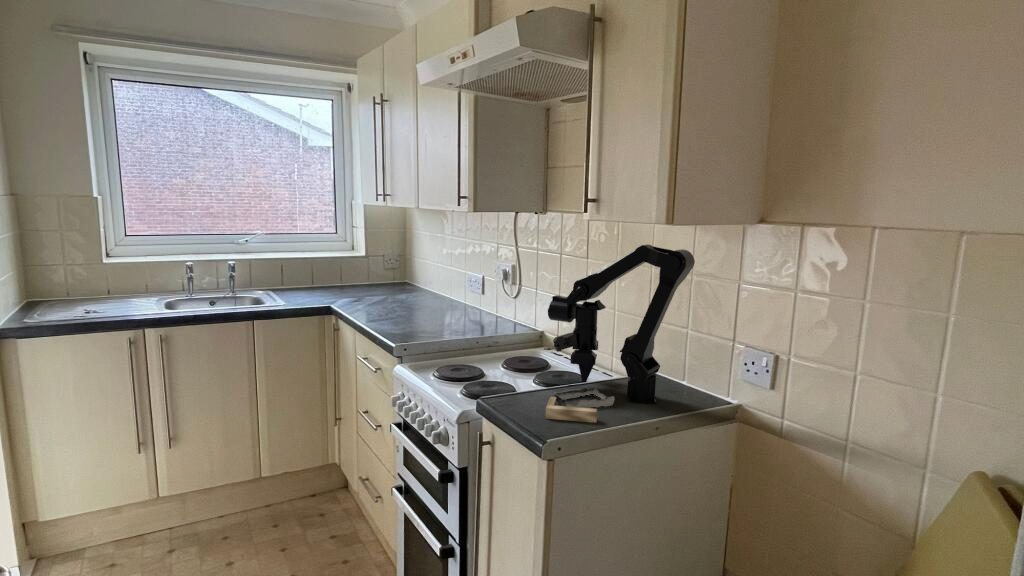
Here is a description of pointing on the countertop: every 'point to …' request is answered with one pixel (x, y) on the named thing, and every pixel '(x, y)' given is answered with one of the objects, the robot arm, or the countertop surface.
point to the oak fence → (569, 412)
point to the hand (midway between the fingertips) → (584, 381)
